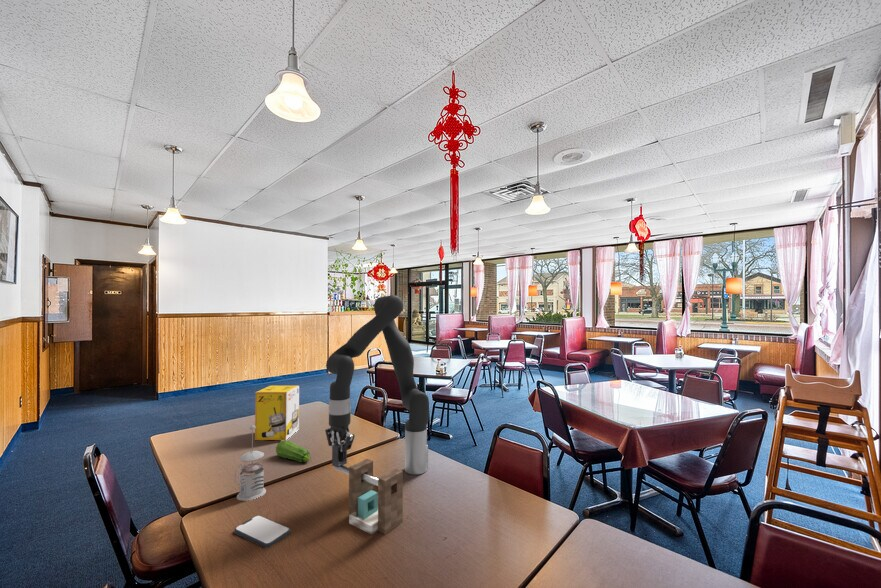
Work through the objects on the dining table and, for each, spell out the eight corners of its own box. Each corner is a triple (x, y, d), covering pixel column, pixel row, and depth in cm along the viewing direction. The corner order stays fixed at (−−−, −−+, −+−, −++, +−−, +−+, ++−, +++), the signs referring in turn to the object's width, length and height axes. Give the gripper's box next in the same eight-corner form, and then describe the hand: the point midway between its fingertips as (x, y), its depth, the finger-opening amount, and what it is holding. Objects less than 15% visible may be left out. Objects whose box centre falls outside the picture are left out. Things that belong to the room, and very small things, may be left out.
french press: (272, 489, 137) (273, 422, 138) (246, 505, 126) (248, 432, 127) (252, 485, 140) (253, 420, 141) (225, 500, 129) (226, 429, 130)
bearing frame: (342, 519, 117) (343, 469, 118) (372, 502, 128) (372, 456, 129) (379, 538, 108) (379, 484, 108) (407, 518, 118) (407, 468, 119)
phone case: (292, 533, 111) (258, 518, 119) (292, 528, 111) (258, 513, 119) (266, 551, 104) (231, 534, 111) (267, 545, 104) (232, 528, 111)
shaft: (332, 471, 128) (332, 445, 128) (341, 467, 131) (341, 441, 132) (384, 492, 113) (384, 463, 114) (393, 487, 116) (393, 458, 117)
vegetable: (282, 435, 171) (312, 443, 162) (288, 446, 174) (318, 455, 164) (270, 447, 165) (300, 456, 156) (276, 459, 168) (306, 468, 158)
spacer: (357, 516, 118) (357, 497, 119) (371, 507, 123) (371, 489, 123) (364, 519, 117) (364, 500, 117) (377, 510, 122) (377, 492, 122)
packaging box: (286, 441, 187) (286, 392, 187) (254, 441, 187) (255, 392, 188) (298, 430, 203) (299, 385, 204) (270, 430, 203) (270, 385, 204)
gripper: (361, 411, 128) (360, 461, 128) (335, 405, 137) (335, 452, 136) (344, 417, 122) (343, 469, 122) (318, 410, 131) (318, 458, 130)
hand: (339, 459), depth 129 cm, fingers closed on shaft, 3 cm apart
